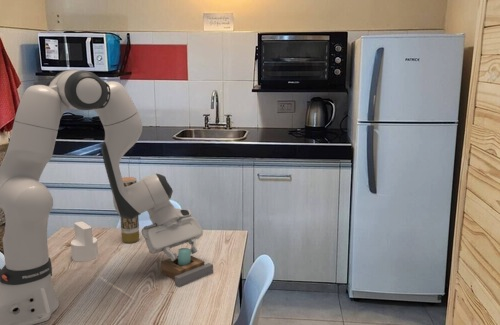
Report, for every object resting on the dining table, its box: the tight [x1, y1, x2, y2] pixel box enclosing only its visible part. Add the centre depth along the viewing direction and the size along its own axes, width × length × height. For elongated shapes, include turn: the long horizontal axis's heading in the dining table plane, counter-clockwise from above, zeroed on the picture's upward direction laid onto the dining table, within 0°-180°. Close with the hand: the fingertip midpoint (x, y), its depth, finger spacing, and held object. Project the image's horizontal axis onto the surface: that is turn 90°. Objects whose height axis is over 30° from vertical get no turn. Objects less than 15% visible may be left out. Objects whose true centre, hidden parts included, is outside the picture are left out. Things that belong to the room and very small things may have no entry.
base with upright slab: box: [70, 221, 99, 263], centre depth 168 cm, size 9×9×12 cm
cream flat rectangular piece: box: [174, 262, 214, 288], centre depth 156 cm, size 14×20×4 cm
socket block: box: [160, 255, 205, 281], centre depth 153 cm, size 10×10×4 cm
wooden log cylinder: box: [119, 176, 140, 244], centre depth 182 cm, size 7×7×25 cm
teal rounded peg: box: [177, 247, 192, 267], centre depth 153 cm, size 4×4×8 cm
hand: (185, 256), depth 151 cm, fingers open, 7 cm apart
